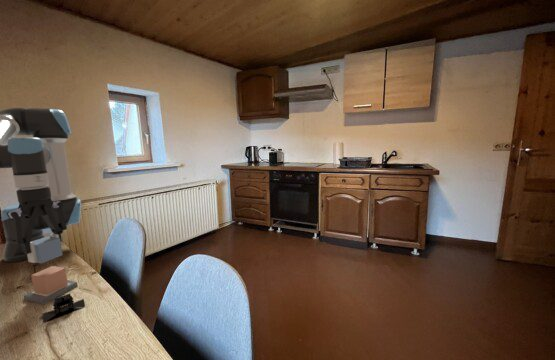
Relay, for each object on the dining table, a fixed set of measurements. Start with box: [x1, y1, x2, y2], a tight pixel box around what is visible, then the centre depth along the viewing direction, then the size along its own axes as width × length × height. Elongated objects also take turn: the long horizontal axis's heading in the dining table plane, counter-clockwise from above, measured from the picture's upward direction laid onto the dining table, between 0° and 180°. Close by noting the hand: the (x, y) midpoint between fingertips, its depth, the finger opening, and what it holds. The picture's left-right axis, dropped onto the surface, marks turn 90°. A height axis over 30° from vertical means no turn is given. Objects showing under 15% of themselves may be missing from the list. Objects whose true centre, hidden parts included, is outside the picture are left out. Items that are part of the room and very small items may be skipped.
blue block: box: [27, 236, 64, 264], centre depth 80 cm, size 6×6×6 cm
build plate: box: [41, 293, 86, 324], centre depth 73 cm, size 12×7×5 cm, turn 134°
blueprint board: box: [23, 279, 79, 305], centre depth 82 cm, size 10×9×2 cm
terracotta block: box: [30, 265, 68, 295], centre depth 81 cm, size 6×6×6 cm
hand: (45, 257), depth 80 cm, fingers closed on blue block, 6 cm apart
